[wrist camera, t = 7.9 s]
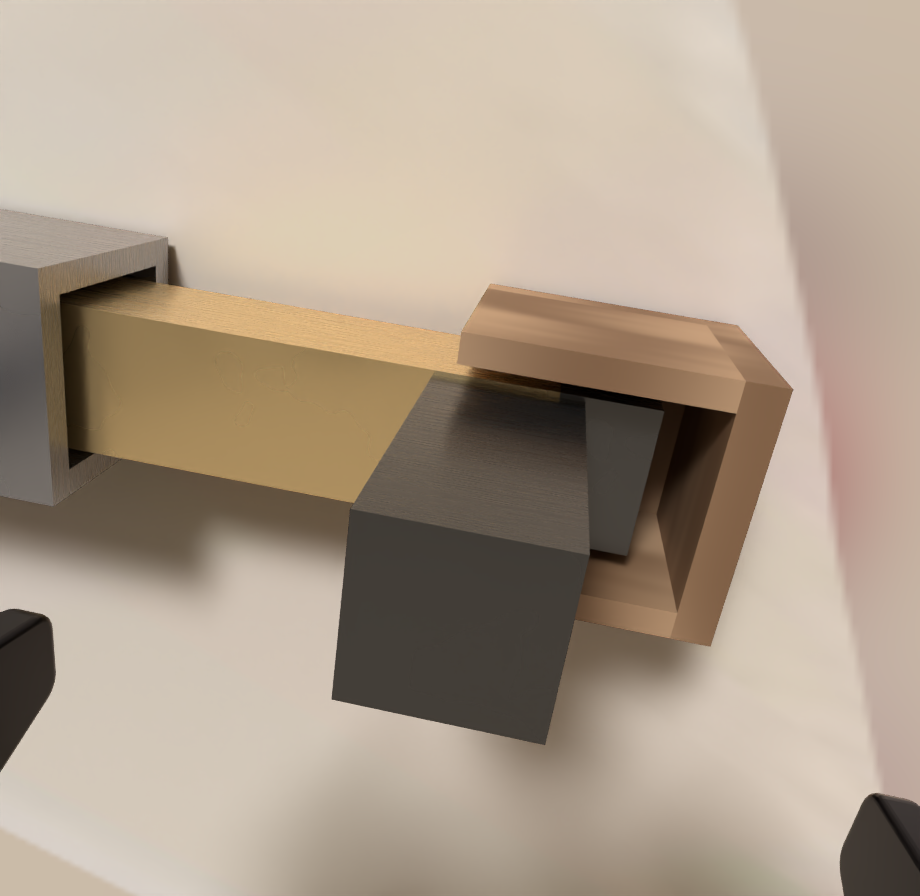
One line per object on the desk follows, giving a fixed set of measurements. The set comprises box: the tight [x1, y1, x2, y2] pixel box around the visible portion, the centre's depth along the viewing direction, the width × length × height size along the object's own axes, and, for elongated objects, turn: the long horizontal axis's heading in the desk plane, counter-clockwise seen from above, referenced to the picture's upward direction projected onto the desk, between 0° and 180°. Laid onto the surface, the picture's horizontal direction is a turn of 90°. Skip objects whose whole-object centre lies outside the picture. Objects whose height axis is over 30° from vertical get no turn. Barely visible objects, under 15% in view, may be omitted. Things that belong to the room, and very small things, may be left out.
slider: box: [59, 276, 664, 745], centre depth 15 cm, size 15×3×9 cm, turn 82°
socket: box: [457, 284, 793, 646], centre depth 17 cm, size 6×5×5 cm
